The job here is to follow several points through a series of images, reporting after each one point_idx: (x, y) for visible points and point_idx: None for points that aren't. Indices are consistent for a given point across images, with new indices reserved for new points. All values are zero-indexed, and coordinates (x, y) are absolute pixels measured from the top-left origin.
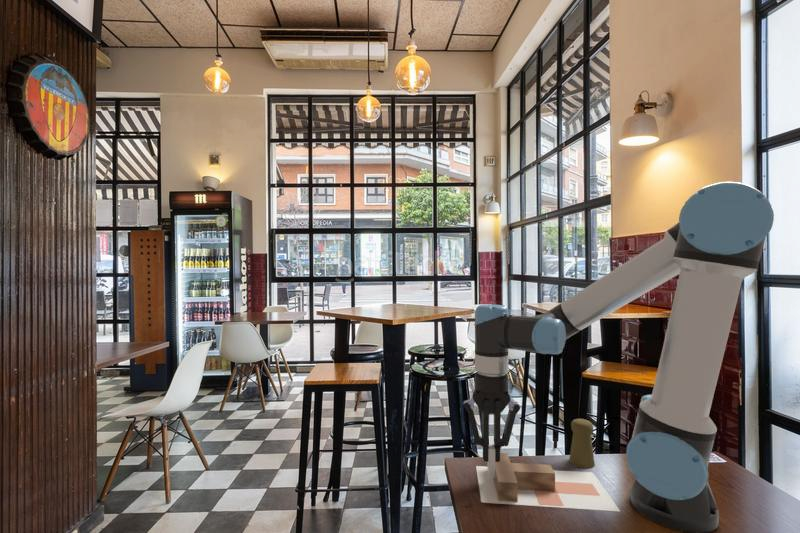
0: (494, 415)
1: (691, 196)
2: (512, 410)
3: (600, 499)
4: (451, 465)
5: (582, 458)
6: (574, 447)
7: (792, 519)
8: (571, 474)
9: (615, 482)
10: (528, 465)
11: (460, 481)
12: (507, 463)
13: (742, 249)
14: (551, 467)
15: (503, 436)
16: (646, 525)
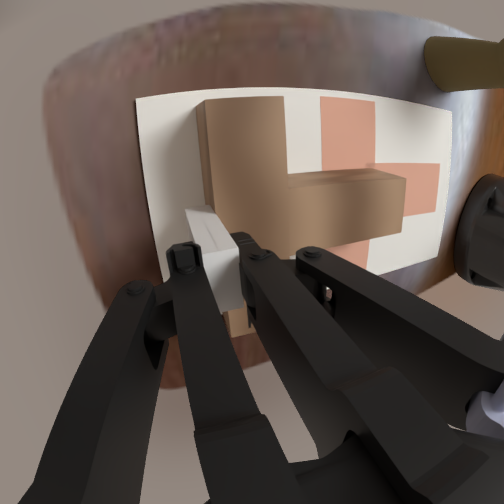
0: (329, 444)
1: None
2: (467, 431)
3: (430, 225)
4: (46, 121)
5: (459, 86)
6: (467, 68)
7: None
8: (419, 121)
9: (466, 149)
10: (347, 196)
11: (91, 227)
12: (274, 197)
13: None
14: (404, 197)
15: (317, 277)
16: (444, 278)
